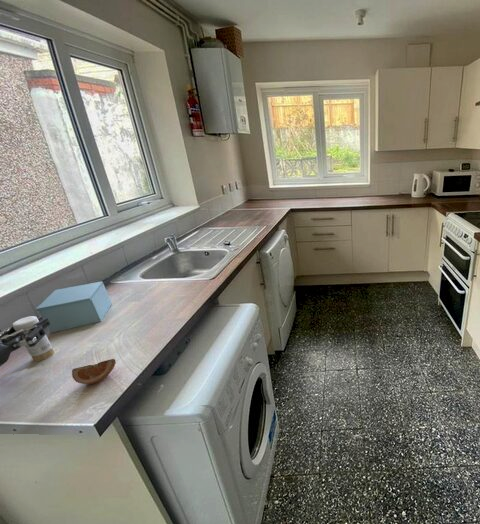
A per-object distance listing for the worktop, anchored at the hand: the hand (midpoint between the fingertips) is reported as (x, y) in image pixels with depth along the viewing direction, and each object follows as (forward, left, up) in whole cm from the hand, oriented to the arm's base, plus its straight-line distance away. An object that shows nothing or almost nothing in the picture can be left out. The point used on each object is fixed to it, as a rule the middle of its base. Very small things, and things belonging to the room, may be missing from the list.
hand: (37, 322), depth 79 cm
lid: (0, +22, -3) cm, 22 cm away
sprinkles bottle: (-1, -3, -11) cm, 12 cm away
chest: (0, +22, -11) cm, 25 cm away
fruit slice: (+15, -19, -12) cm, 27 cm away
